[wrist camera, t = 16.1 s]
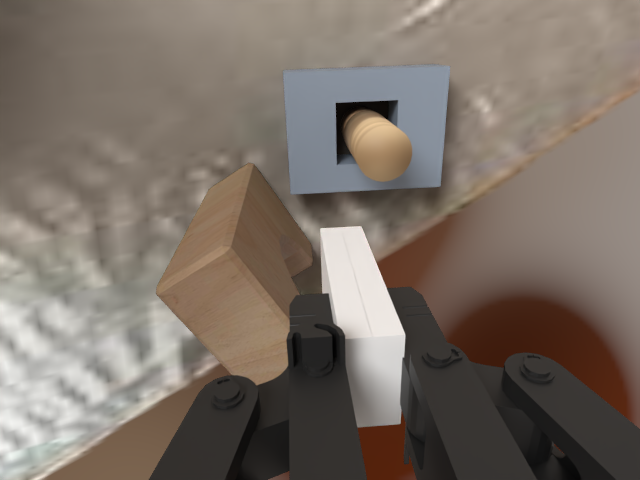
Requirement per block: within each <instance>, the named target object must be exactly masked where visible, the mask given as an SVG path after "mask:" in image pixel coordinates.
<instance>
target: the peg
mask: <svg viewBox="0 0 640 480" xmlns="http://www.w3.org/2000/svg"><path fill="white" fill-rule="evenodd" d="M340 128H341V133H342V135H343V137H344V140H345V143H346V145H347V147H348V149H349V151H350V152H351V154H352V156H353V157H354V159H355V161H356V162H357V164H358V166H359V168H360V169H361V171H362V172H363V173H364V174H365V175H366V176H367V177H368V178H370V179H372V180H375V181H380V182H385V181H390V180H393V179H395V178H397V177H399V176H400V175H402V174H403V173H404V172H405V170H406V169H407V168H408V166H409V164H410V162H411V158H412V145H411V142H410V140H409V138H408V136H407V135H406V134H405V133H404V132H403V131H401V130H400V129H399V128H397V127H396V126H395V125H394V124H392V123H391V122H390V121H388V120H387V119H386V118H384V117H383V116H382V115H380V114H379V113H377V112H375V111H372V110H371V109H369V108H367V107H364V106H356V107H353V108H351V109H349V110H348V111H347V112H346V113H345V114H344V116H343V118H342V120H341V124H340Z"/></svg>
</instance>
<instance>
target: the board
mask: <svg viewBox="0 0 640 480" xmlns="http://www.w3.org/2000/svg"><path fill="white" fill-rule="evenodd" d="M449 75H450V66H445V65H437V64H429V65H404V66H378V67H352V68H326V69H300V70H283V80H284V96H285V112H286V128H287V144H288V160H289V176H290V192H291V195H292V194H311V193H330V192H349V191H368V190H387V189H406V188H425V187H440V186H441V173H442V161H443V149H444V136H445V124H446V112H447V100H448V87H449ZM365 101H388V121H390V122H391V123H392V124H394V125H395V126H396V127H397V128H399V129H400V130H401V131H403V132H404V133H405V134H406V135H407V136H408V138H409V140H410V142H411V145H412V158H411V162H410V164H409V166H408V168H407V169H406V170H405V172H404V173H403V174H402V175H400V176H399V177H397V178H395V179H393V180H390V181H385V182H380V181H375V180H372V179H370V178H368V177H367V176H366V175H365V174H364V173H363V172H362V171H361V169H360V168H359V166H358V164H357V162H356V161H355V159H354V157H353V156H352V154H340V155H337V153H336V103H342V102H365Z"/></svg>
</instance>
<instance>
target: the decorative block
mask: <svg viewBox="0 0 640 480" xmlns="http://www.w3.org/2000/svg"><path fill="white" fill-rule="evenodd" d="M312 263H313V258H312V250H311V243H310V242H309V241H308V239H307V238H306V236H305V235H304V234H303V232H302V231H301V229H300V228H299V227H298V225H297V224H296V222H295V221H294V220H293V218H292V217H291V215H290V214H289V213H288V211H287V210H286V208H285V207H284V205H283V204H282V203H281V201H280V200H279V199H278V197H277V196H276V194H275V193H274V192H273V190H272V189H271V187H270V186H269V185H268V183H267V182H266V180H265V179H264V178H263V176H262V175H261V173H260V172H259V171H258V169H257V168H256V166H255V165H254V164H251V163H248V164H246V165H245V166H243V167H242V168H240V169H239V170H237V171H236V172H234V173H233V174H231V175H230V176H228V177H227V178H225V179H224V180H222V181H221V182H219V183H217V184H216V185H214V186H213V187H211V188H210V189H209V190H208V192H207V194H206V196H205V198H204V200H203V202H202V203H201V205H200V207H199V209H198V211H197V213H196V215H195V216H194V218H193V220H192V222H191V224H190V226H189V228H188V229H187V231H186V233H185V235H184V237H183V239H182V241H181V243H180V244H179V246H178V248H177V250H176V252H175V254H174V256H173V258H172V259H171V261H170V263H169V265H168V267H167V269H166V270H165V272H164V274H163V276H162V278H161V280H160V282H159V283H158V285H157V289H156V294H157V296H158V297H159V298H160V299H161V300H162V301H163V302H164V303H165V304H166V305H167V306H168V307H169V308H170V309H171V310H172V312H173V313H174V314H175V315H176V316H177V317H178V318H179V319H180V320H181V321H182V322H183V323H184V324H185V325H186V327H187V328H188V329H189V330H190V331H191V332H192V333H193V334H194V335H195V336H196V337H197V338H198V339H199V340H200V341H201V343H202V344H203V345H204V346H205V347H206V348H207V349H208V350H209V351H210V352H211V353H212V354H213V355H214V356H215V357H216V359H217V360H218V361H219V362H220V363H221V364H222V365H223V366H224V367H225V368H226V369H227V370H228V371H229V372H230V373H231V374H232V375H239V376H243V377H247V378H249V379H250V380H252V381H253V382H254V383H255V384H256V385H259V384H262V383H265V382H268V381H270V380H272V379H274V378H276V377H278V376H279V375H281V374H282V373H283V372H284V371H285V369H286V368H287V366H288V355H287V342H286V339H287V336H288V333H289V332H290V323H289V318H290V317H289V305H290V303H291V302H292V300H293V299H294V298H295V296H296V295H300V294H299V292H298V290H297V288H296V286H295V284H294V282H293V280H292V277H294V276H295V275H297V274H299V273H300V272H302V271H304V270H305V269H307V268H309V267H310V266H312Z"/></svg>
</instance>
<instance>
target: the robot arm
mask: <svg viewBox="0 0 640 480" xmlns="http://www.w3.org/2000/svg"><path fill="white" fill-rule="evenodd" d="M320 241H321V269H322V294H308V295H296V296H295V298H294V299H293V300H292V302H291V303H290V305H289V317H290V318H289V323H290V332H289V333H288V336H287V339H286V342H287V355H288V366H287V368H286V369H285V371H284V372H283V373H282V374H281V375H279V376H278V377H276V378H274V379H272V380H270V381H268V382H265V383H262V384H259V385H256V384H255V383H254V382H253V381H252V380H250V379H249V378H247V377H243V376H239V375H231V376H224V377H221V378H217V379H215V380H213V381H212V382H210V383H208V384H207V385H205V387H204V388H203V389H202V390H201V391H200V392H199V394H198V395H197V397H196V399H195V401H194V402H193V404H192V406H191V407H190V409H189V411H188V413H187V414H186V416H185V418H184V420H183V421H182V423H181V425H180V427H179V429H178V430H177V432H176V434H175V435H174V437H173V439H172V440H171V442H170V444H169V446H168V448H167V449H166V451H165V453H164V454H163V456H162V458H161V459H160V461H159V463H158V465H157V467H156V468H155V470H154V472H153V473H152V475H151V477H150V479H149V480H268V479H270V478H273V477H275V476H278V475H280V474H282V473H285V472H288V471H290V480H367V477H366V472H365V466H364V461H363V456H362V450H361V445H360V439H359V434H358V429H357V427H368V426H381V425H394V424H400V423H401V409H402V412H403V415H404V418H405V422H406V429H405V445H404V464H409V455H410V458H411V461H412V465H413V468H414V472H415V475H416V478H417V480H640V429H639V428H638V427H637V426H635V425H634V424H633V423H632V422H630V421H629V420H628V419H627V418H626V417H624V416H623V415H622V414H621V413H619V412H618V411H617V410H616V409H614V408H613V407H612V406H611V405H609V404H608V403H607V402H605V401H604V400H603V399H602V398H601V397H600V396H598V395H597V394H596V393H595V392H593V391H592V390H591V389H590V388H588V387H587V386H586V385H585V384H583V383H582V382H581V381H580V380H578V379H577V378H576V377H575V376H573V375H572V374H571V373H570V372H569V371H567V370H566V369H565V368H564V367H562V366H561V365H560V364H558V363H557V362H555V361H553V360H552V359H550V358H547V357H544V356H541V355H539V354H533V353H518V354H514V355H512V356H510V357H508V359H507V360H506V362H505V364H504V368H500V367H494V366H487V365H482V364H477V363H473V362H470V361H469V359H468V358H467V356H466V355H465V354H464V352H462V350H461V349H459V348H458V347H456V346H454V345H452V344H450V343H447V341H446V339H445V338H444V335H443V333H442V332H441V330H440V328H439V326H438V324H437V322H436V320H435V319H434V317H433V315H432V313H431V311H430V309H429V307H427V304H426V302H425V300H424V298H423V296H422V295H421V294H420V293H418V292H417V291H416V290H414V289H413V288H411V287H400V288H386V286H385V283H384V281H383V278H382V276H381V274H380V271H379V269H378V266H377V264H376V261H375V259H374V256H373V254H372V251H371V249H370V246H369V244H368V242H367V239H366V237H365V234H364V232H363V229H362V227H361V226H355V227H337V228H320ZM554 444H556V446H557V447H559V449H560V450H561V451H562V452H563V453H564V454H563V453H562V452H561V451H559V450H558V449H557V448H556V447H555V446H554Z"/></svg>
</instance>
